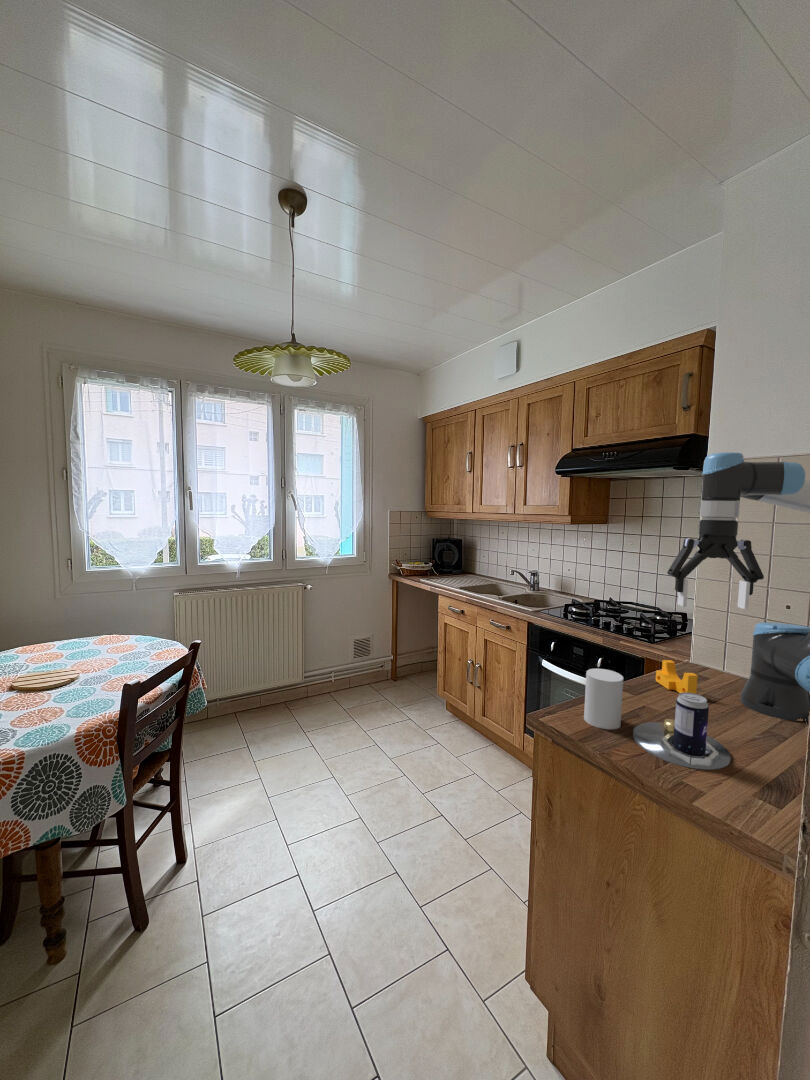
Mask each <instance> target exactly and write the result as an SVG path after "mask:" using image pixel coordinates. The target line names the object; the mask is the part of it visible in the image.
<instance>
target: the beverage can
mask: <svg viewBox="0 0 810 1080" xmlns="http://www.w3.org/2000/svg"><path fill="white" fill-rule="evenodd" d="M675 701H676V702H675V714H674V715H675V716H674V720H675V727H674V741H673V745H674V747H675V748H676V749H677V750H678V751H680V752H683V753H685V754H688V755H690V756H700V757H701V756H703V755H705V752H706V739H707V735H708V725H709V724H708V723H709V709H710V706H709V703H708V700H707V698H706V697H704V696H702V695H701V694H697V693H696V694H694V693H687V692H683V693H679V694H678V697H677V698H676V700H675Z"/></svg>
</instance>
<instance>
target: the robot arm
mask: <svg viewBox="0 0 810 1080" xmlns="http://www.w3.org/2000/svg"><path fill="white" fill-rule="evenodd" d="M701 474H702V487H701V500H700V512H699V513H700V514H699V516H700V518H702V519H700V520H699V523H698V538H697V539H694V538H689V537H686V538H684V540H683V544H682V547H681V549H680V551H679V552H678V554H677V555H676V557H675V558H674V560H673V562H672V563H671V565H670V566H669V568H668V570H667V572H666V573H667V575H668V576H672V577H674V578H675V583H674V584H675V585H674V590H675V592H677V593H678V594H677V605H679V606H680V607H683V608H686V607H687V603H688V591H689V589H688V587H689V579H686V578H687V577H688V576H689V574H691V573H692V572H693V571H694V570H695V569H696V568H697V567H698V566H699V565H700V564H701V563H702V562H703V561H704V560H707V559H717V558H719V559H726V560H727V561H728V562H729V563H730V565H731V566H732V567H733V568H734V569H735V571H736V572H737V573H738V575H740V577H741V578H742V579H743V580H739V582H738V583H739V585H738V596H737V597H738V598H737V608H740V609H743V610H747V611H748V610H749V600H750V596H752V595H753V593H754V584H755V583H758V581H759V580H764V578H765V576H764V573H763V572H762V569H761V567H760V564H759V563H758V560H757V558H756V556H755V553H754V551H753V549H752V541H751V540H749V539H748V540H747V539H740V540H737V535H738V532H739V529H738V528H739V522H738V520H736V519H738V518H740V504H741V502H740V501H741V498H743V499H745V500H746V499H748V500H751V501H752V500H753V501H757V502H762V503H766V504H768V505H772V506H773V505H775V506H778V507H782V508H785V509H786V508H787V509H791V510H793V511H798V512H799V511H800V512H803V513H807V514H810V481H809V480H808V481H807V480H805V479H806V470H805V468H804V467H803V465H801V464H800V463H798V462H791V461H765V462H764V461H759V462H755V461H754V462H750V461H745V459H744V455H743V453H741V452H717V453H711V454H708V455H707V456H706V457H705V458H704V462H703V469H702V473H701ZM696 546H697V548H698V550H697V551H696V552H695V553H694V555H693V556H692V557H691V558H690V559H689V560H688V558H689V556H690V554H691V553H692V551H693V549H694V548H696ZM736 548H738V550H739V551H740V553H741V556H742V559H743V560H744V562H745V564H744V563H743V562H742V561H741V559H740V557H739V556H738V554H737V553H736V552H735V551H734V550H735V549H736ZM687 560H688V561H687ZM752 636H753V640H752V652H751V653H752V654H751V664H750V675H749V677H748V679H747V681H746V682H745V685H744V686H743V688H742V690H741V691H740V698H739V701H740V703H741V704H742V705H743V706H744V707H745V708H748V709H749V710H751V711H753V712H756V713H759V714H761V715H764V716H767V717H771V718H774V717H776V718H775V719H778V718H780V719H779V720H783V719H785V721H789V720H792V721H791V722H795V721H794V720H797V719H800V718H801V719H803V723H805V719H806V723H807V722H809V721H808V716H809V711H810V626H805V625H797V624H791V623H790V624H789V623H781V622H769V621H767V622H764V621H763V622H758V623H756V624H755V625H754V630H753V634H752Z"/></svg>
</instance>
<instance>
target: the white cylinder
mask: <svg viewBox="0 0 810 1080" xmlns="http://www.w3.org/2000/svg"><path fill="white" fill-rule="evenodd" d="M585 672H586V673H585V689H584V690H585V691H584V692H585V693H584V709H583V710H584V712H583V720H584V721H585V722H586V723H588V724H589V725H591V726H593V727H595V728H598V729H603V730H617V729H619V728H621V723H622V708H623V707H622V706H623V692H624V690H623V688H624V676H623V675H622V674H621V673H619V672H616V671H614V670H612V669H611V670H610V669H605V668H589V669H588V670H586V671H585Z"/></svg>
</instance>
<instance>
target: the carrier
mask: <svg viewBox="0 0 810 1080" xmlns="http://www.w3.org/2000/svg"><path fill="white" fill-rule="evenodd" d="M674 727H675V718H666V719H664V722H661V721H660V722H658V721H655V722H654V721H651V722H644V723H640V724H638V725H636V726H635V727H634V728H633V731H632V738H633V740H634V742H635V743H636V744H637V745H638V746H639V747H640V748H641V749H643V750H644V751H645V752H647V753H649V754H651V755H652V756H655V757H656V758H659V759H661V760H663V761H665V762H668V763H671V764H675V765H678V766H681V767H686V768H690V769H696V770H705V771H706V770H707V771H708V770H709V771H710V770H711V771H713V770H722V769H723V768H726V767H728V766H729V764H730V763H731V758H732V757H731V754H730V752H729V750H728V749H727V747H725V746H724V745H723V744H722V743H721V742H720V741H718V740H717V739H715V738H713V737H711V736H709V735H708V734H707V739H706V752H705V755H703V756H701V757H700V756H690V755H688V754H685V753H683V752H680V751H678V750H677V749H676V748H675V747H674V745H673V741H674Z"/></svg>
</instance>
